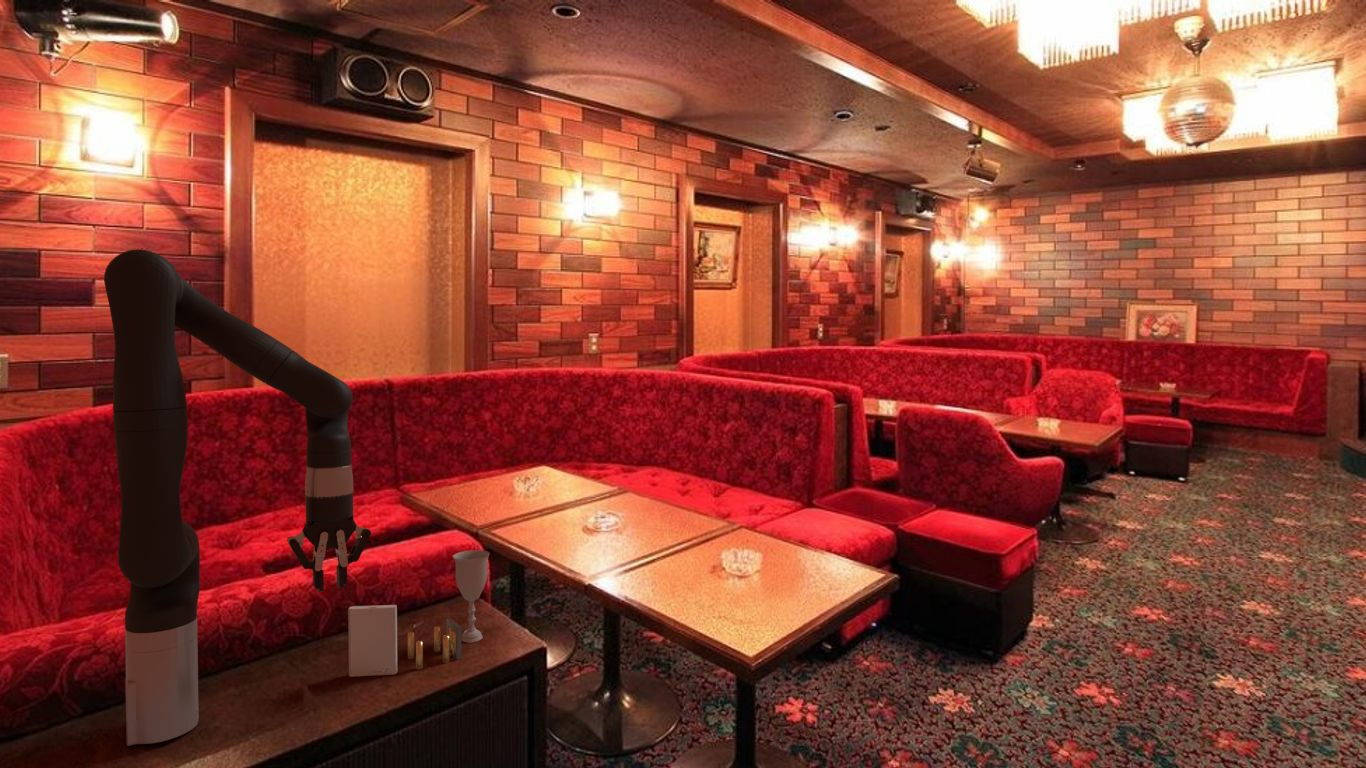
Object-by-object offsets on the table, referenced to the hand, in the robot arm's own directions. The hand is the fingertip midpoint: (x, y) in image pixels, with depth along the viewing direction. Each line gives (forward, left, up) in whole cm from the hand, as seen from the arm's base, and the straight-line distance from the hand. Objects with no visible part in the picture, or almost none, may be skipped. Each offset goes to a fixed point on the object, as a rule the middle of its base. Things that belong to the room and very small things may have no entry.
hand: (330, 588), depth 126 cm
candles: (+17, 0, -17) cm, 24 cm away
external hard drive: (+7, 0, -17) cm, 19 cm away
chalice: (+27, +4, -17) cm, 32 cm away
